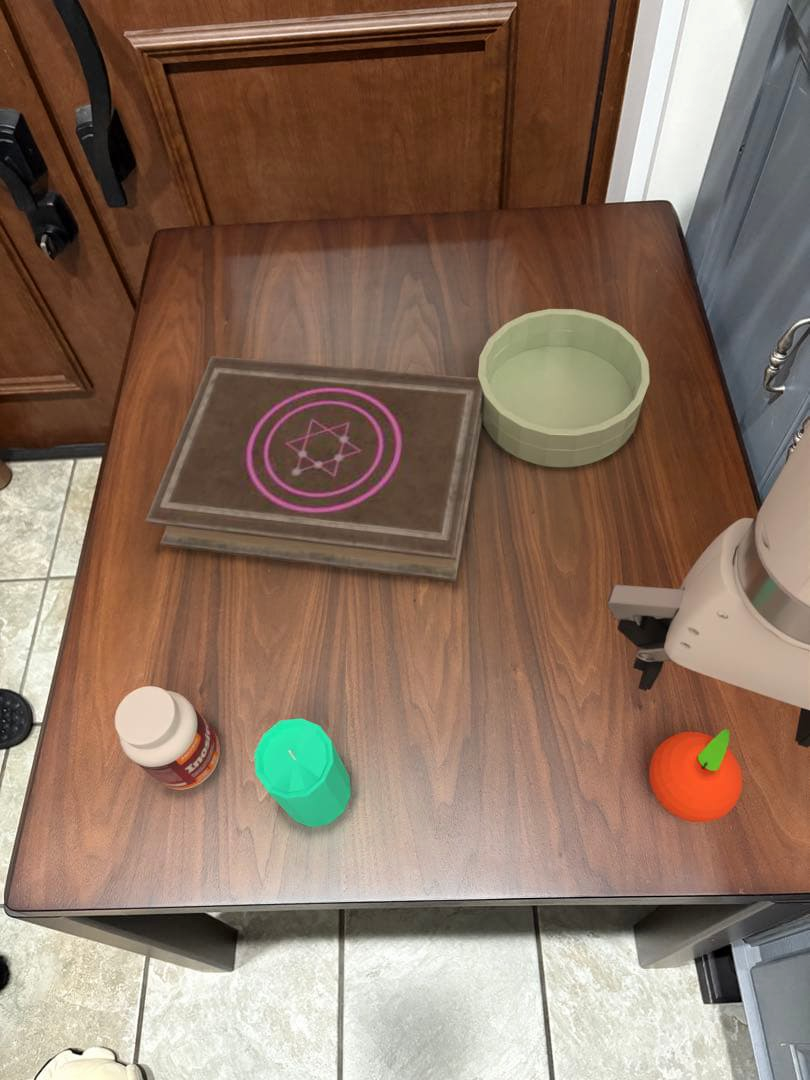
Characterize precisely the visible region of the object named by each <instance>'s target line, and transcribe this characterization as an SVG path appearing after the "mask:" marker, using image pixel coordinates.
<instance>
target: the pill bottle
mask: <svg viewBox="0 0 810 1080" xmlns="http://www.w3.org/2000/svg"><path fill="white" fill-rule="evenodd" d="M114 727H115V730H116V732H117V734H118V737H119V742H120V746H121V749H122V750H123V752H124V754H125V755H126V756H127V757H128V758H129V759H130V760H131V761H132V762H133V763H135V764H136V765H137V766H139V767H140V768H141V769H142V770H144V771H145V772H146V773H147V774H149V775H150V776H151V777H152V778H154V780H156V781H157V782H158V783H159V784H160V785H163V786H164V787H166V788H169V789H172V790H178V791H183V790H188V789H192V788H195V787H198V786H199V785H201V784H202V783H203V782H205V781H206V780H207V779H208V778H209V777H210V776H212V774H213V772H215V769H216V767H217V765H218V763H219V760H220V755H221V745H220V740H219V738H218V735H217V734H216V732H215V730H214V729H213V728H212V727H211V725H210V724H209V723H208V722H207V721H206V719H205V718H204V717H203V716H202V715H201V714H200V712H199V711H198V710H197V709H196V708H195V706H194V705H193V704H192V703H191V702H190V701H189V700H188V699H187V698H186V697H185V696H184V695H182V694H180V693H178V692H175V691H171V690H165V689H163V688H161V687H159V686H153V685H152V686H151V685H148V686H147V685H145V686H142V687H139V688H136V689H135V690H131V692H129V693H128V694H127V695H126V696H125V697H124V698H123V699H122V700H121V701H120V703H119V705H117V708H116V710H115V715H114Z"/></svg>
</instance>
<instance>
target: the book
mask: <svg viewBox="0 0 810 1080" xmlns="http://www.w3.org/2000/svg"><path fill="white" fill-rule="evenodd" d="M482 398H483V391H482V388H481V385H480V382H479V379H478V377H471V376H460V375H459V376H457V375H446V374H433V373H423V372H412V371H411V372H410V371H399V370H398V371H397V370H388V369H387V370H386V369H374V368H361V367H350V366H339V365H338V366H336V365H328V364H327V365H325V364H315V363H301V362H290V361H280V360H279V361H278V360H268V359H267V360H266V359H256V358H244V357H232V356H230V357H229V356H219V355H211V356H210V358H209V360H208V363H207V366H206V368H205V371H204V372H203V375H202V378H201V380H200V383H199V385H198V388H197V391H196V393H195V396H194V398H193V400H192V403H191V405H190V408H189V409H188V410H189V411H188V413H187V415H186V418H185V421H184V423H183V425H182V428H181V431H180V433H179V434H178V438H177V441H176V442H175V445H174V447H173V450H172V453H171V455H170V458H169V460H168V462H167V465H166V468H165V470H164V473H163V475H162V477H161V480H160V482H159V486H158V487H157V491H156V493H155V496H154V497H153V500H152V503H151V505H150V508H149V510H148V512H147V515H146V518H145V523H146V524H147V525H156V526H164V528H165V529H164V531H163V534H162V537H161V539H160V542H159V544H160V546H162V547H170V548H178V549H187V550H194V551H202V552H210V553H218V554H225V555H226V554H227V555H235V556H242V557H250V558H251V557H252V558H257V559H258V558H259V559H267V560H268V559H269V560H276V561H283V562H284V561H285V562H290V563H300V564H308V565H315V566H323V567H333V568H340V569H346V570H347V569H348V570H349V569H350V570H357V571H365V572H371V573H372V572H374V573H380V574H381V573H382V574H390V575H396V576H406V577H411V578H412V577H413V578H420V579H421V578H422V579H429V580H438V581H446V582H453V583H454V582H455V583H457V581H458V574H459V568H460V562H461V557H462V549H463V544H464V539H465V538H464V537H465V532H466V525H467V519H468V512H469V508H470V507H469V506H470V499H471V494H472V488H473V481H474V476H475V468H476V463H477V457H478V453H479V452H478V451H479V445H480V440H481V432H482V426H483V424H482V416H481V413H480V410H481V404H482Z"/></svg>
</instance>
